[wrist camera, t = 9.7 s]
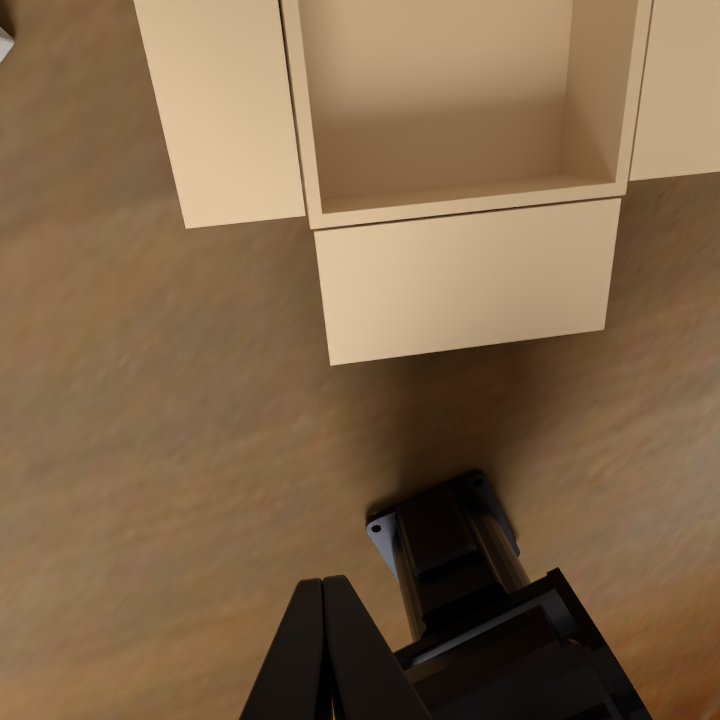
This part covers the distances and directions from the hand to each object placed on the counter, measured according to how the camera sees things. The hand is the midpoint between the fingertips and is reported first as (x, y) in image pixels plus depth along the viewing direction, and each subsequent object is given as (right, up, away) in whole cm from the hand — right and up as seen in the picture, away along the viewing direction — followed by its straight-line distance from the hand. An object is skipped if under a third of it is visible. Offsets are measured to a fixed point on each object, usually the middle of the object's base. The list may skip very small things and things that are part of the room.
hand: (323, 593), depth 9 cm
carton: (+3, +14, +8) cm, 16 cm away
